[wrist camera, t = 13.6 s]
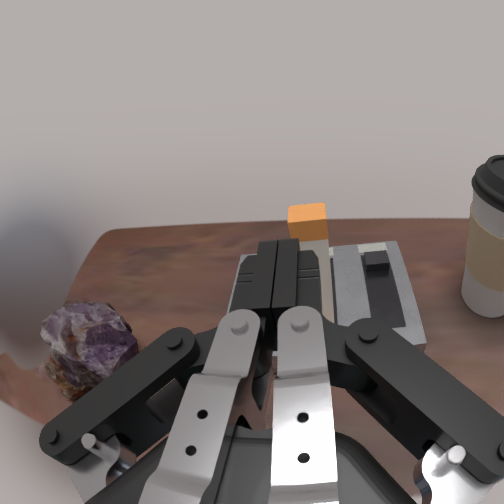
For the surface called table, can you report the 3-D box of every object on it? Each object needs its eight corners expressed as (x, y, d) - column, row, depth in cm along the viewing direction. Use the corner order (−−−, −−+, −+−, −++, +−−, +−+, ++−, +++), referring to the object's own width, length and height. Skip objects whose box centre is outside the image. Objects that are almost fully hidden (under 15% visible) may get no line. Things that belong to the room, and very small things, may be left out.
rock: (138, 424, 27) (167, 344, 34) (101, 386, 21) (143, 294, 29) (54, 394, 29) (86, 329, 36) (12, 353, 23) (56, 282, 31)
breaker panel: (394, 261, 35) (396, 233, 33) (420, 362, 24) (429, 335, 22) (247, 274, 40) (239, 248, 37) (225, 373, 29) (212, 349, 26)
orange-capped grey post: (334, 308, 28) (324, 202, 22) (335, 326, 26) (326, 218, 20) (306, 310, 29) (288, 206, 22) (306, 328, 27) (287, 222, 21)
